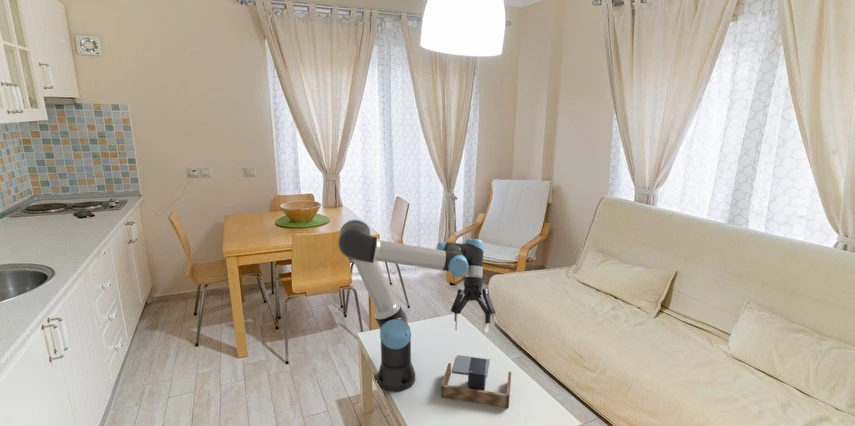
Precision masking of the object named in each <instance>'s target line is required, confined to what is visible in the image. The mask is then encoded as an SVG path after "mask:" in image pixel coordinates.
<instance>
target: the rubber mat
mask: <svg viewBox="0 0 855 426" xmlns="http://www.w3.org/2000/svg"><path fill="white" fill-rule="evenodd" d="M471 357H473V358H477V357H474V356H468V355H460V354H457V356H456V360H455V363H454V366H453V370H452V373H454V374H455V373H456V374H461V375H462V374H463V375H468V372H469V367H470V361H471ZM479 358H480V359H486V361H487V365H486V378H487V377H488V372H489V367H490V360H491V359H489V358H481V357H479Z"/></svg>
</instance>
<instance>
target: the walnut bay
mask: <svg viewBox="0 0 855 426" xmlns="http://www.w3.org/2000/svg"><path fill="white" fill-rule="evenodd" d="M451 374H452V363H450V362H449V363H447V367H446V370H445V373H444V376H443V378H442V382H441V385H440V398H442V399H448V400H453V401H454V400H456V401H461V402H467V403H472V404H473V403H474V404H479V405H484V406H485V405H487V406H493V407H499V408H500V407H501V408H505V409H506V408H507V409H509V408H510V407H509V405H510V395H511V394H510V393H511V382H512V381H511V380H512V371H508V374H507V376H508V377H507V388H506V393H504V392H503V393H501V392H497V391H496V392H495V391H488V390H485V391H483V390H476V389H470V388H468V387H462V386H457V385H456V386H455V385H449V382H450V379H451Z"/></svg>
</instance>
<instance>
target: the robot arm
mask: <svg viewBox="0 0 855 426" xmlns="http://www.w3.org/2000/svg"><path fill="white" fill-rule="evenodd" d="M337 244H338V245H337V246H338V248H339V251H340V252H341V254H342V255H343V256H344V257H346V258H348V260H349V261H351V262H353V263H354V265H355V267H356V268H357V271H358V274H359V276H360V278H361V280H362V282H363V285H364V287H365V289H366V292H367V294H368V296H369V298H370V300H371V303H372V305H373V307H374V309H375V311H374V319H375V321H376V323H377V325H378V328H379V331H380V332H379V335H380V358H381V361H380V362H381V363H380V366H379V369H378V372H377V376H376V377H377V385H378V386H379V387H380V388H381V389H383V390H386V391H389V392H402V391H405V390H408V389H409V388H411V387H412V386H413V385H414V384H415V382H416V371H415V369H414V366H413V362H412V354H411V353H412V351H411V348H412V346H411V345H412V344H411V342H412V339H411V338H412V331H411V327H410V325H409V322H408V317H407V314H406V313H405V311H404V310H403V309H402V306H401V304H400V302H398V301H395V299H394V296H393V294H392V292H391V289H390V287H389V284H388V283H387V280H386V277H385V275H384V273H383V271H382V268H381V267H380V264H379V262H383V263H390V264H398V265H405V266H409V267H417V268H424V269H431V270H435V271H436V270H437V271H444V272H449V273H450V274H451V275H452V276H455V277H461V276H464V278H463V287H464V288H463V289H462V288H459V289H457V294H456V297H455V300H454V301H453V304H452V305H451V308H450V312H452V313H454V322H455V327H454V328H455V329H454V331H462V316H463V315H462V313H461V312H462V311H463V309H464V308H465V307H466V305H467V303H469V302H472V301H475V302H477V303H478V305H479V307H480V308H481V310H482V311H483V314H482V316H483V317H482V333H489V329H490V327H489V325H490V324H491V316H492V315H493V314H495V313H496V310H495V308H494V305H493V303H492V299H491V297H490V295H489V293H490V292H489V289H487V288H486V289H485V288H483V289H482V287H483V280H484V279H483V277H484V276H483V275H484V274H483V273H484V272H483V271H484V270H483V269H484V266H483V265H484V241H483V240H481V239H477V238H467V239H466V240H465V242H464V243H459V242H449V241H439V242H438V243H437V244H436V247H435V248H436V249H435V248H431V247H424V246H419V245H411V244H405V243H397V242H394V241H393V242H392V241H385V240H380V238H379V237H377V236H374V235H371V230H370V227H369V225H368V224H367V223H366V222H364V221H363V220H360V219H349V220H348V221H345V223H343V225H342V227H341V228H340V230H339V237H338V242H337Z"/></svg>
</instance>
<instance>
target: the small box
mask: <svg viewBox="0 0 855 426" xmlns="http://www.w3.org/2000/svg"><path fill="white" fill-rule="evenodd" d="M470 357H471V361H470V367H469V372H468V374H467V388H470V389H476V390H483V391H486V390H485V389H486V383H487V382H486V380H487V377H486V365H487V361H486V359H487V358H484V359H480V358H481V357H476V358H473V357H474V356H470Z"/></svg>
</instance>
